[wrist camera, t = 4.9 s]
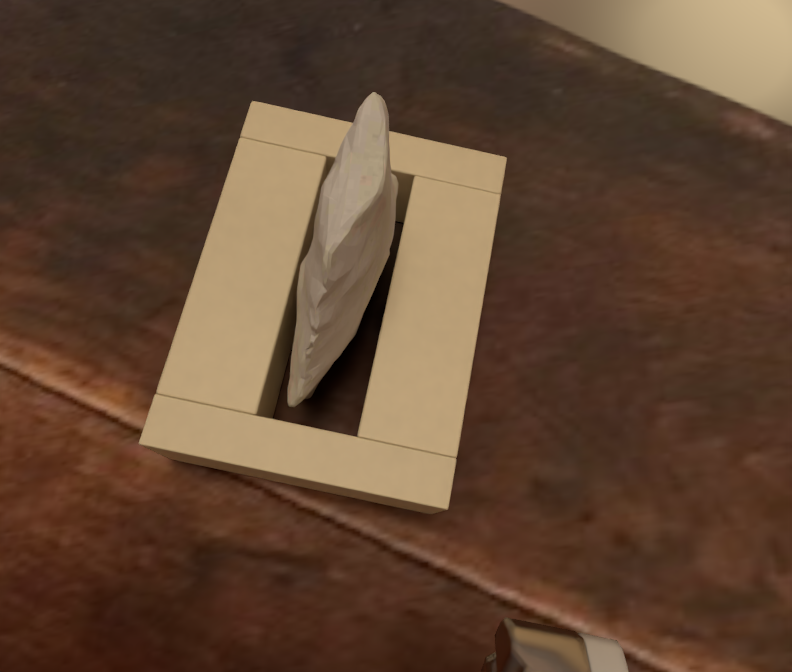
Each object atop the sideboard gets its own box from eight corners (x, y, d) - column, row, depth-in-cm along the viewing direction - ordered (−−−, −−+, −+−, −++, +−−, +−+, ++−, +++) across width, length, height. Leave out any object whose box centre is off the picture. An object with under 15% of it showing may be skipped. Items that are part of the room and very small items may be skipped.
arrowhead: (332, 438, 22) (328, 361, 12) (268, 416, 22) (215, 322, 12) (405, 238, 24) (447, 47, 15) (348, 218, 25) (353, 16, 15)
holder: (169, 459, 21) (137, 444, 18) (263, 157, 25) (251, 99, 22) (431, 514, 21) (448, 510, 18) (485, 207, 25) (507, 156, 22)
